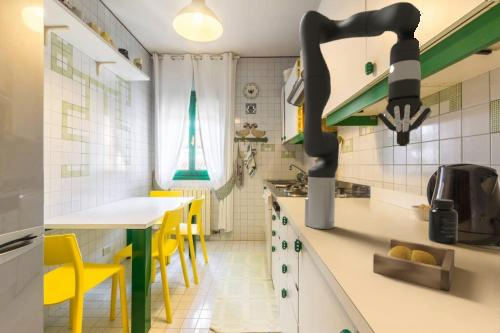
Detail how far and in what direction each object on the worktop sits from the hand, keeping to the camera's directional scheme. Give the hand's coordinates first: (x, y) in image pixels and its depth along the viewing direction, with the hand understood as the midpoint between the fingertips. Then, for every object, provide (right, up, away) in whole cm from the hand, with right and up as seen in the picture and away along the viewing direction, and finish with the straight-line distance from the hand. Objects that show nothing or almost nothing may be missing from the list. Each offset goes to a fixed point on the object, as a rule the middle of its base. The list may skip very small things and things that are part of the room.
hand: (402, 146), depth 71 cm
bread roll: (-7, -27, -14) cm, 31 cm away
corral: (-7, -27, -16) cm, 32 cm away
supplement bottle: (+14, -27, +5) cm, 31 cm away
